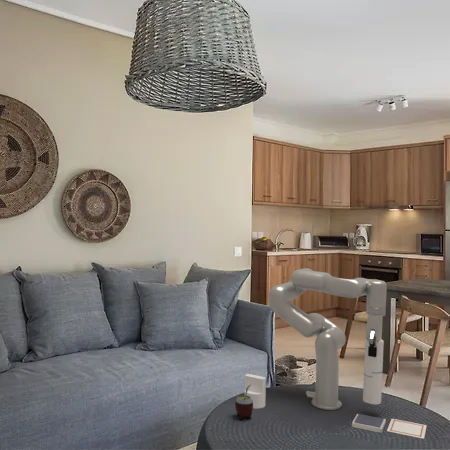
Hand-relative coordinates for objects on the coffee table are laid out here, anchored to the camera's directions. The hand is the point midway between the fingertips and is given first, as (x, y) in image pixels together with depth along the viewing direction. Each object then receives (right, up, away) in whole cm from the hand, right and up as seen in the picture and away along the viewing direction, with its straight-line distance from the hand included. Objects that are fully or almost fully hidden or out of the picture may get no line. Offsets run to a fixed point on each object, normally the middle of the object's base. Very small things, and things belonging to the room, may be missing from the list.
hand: (373, 353), depth 198 cm
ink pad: (-5, -25, -9) cm, 27 cm away
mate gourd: (-53, -24, -5) cm, 58 cm away
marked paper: (+9, -25, -12) cm, 30 cm away
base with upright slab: (-48, -24, +9) cm, 55 cm away
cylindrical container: (-1, -19, 0) cm, 20 cm away
